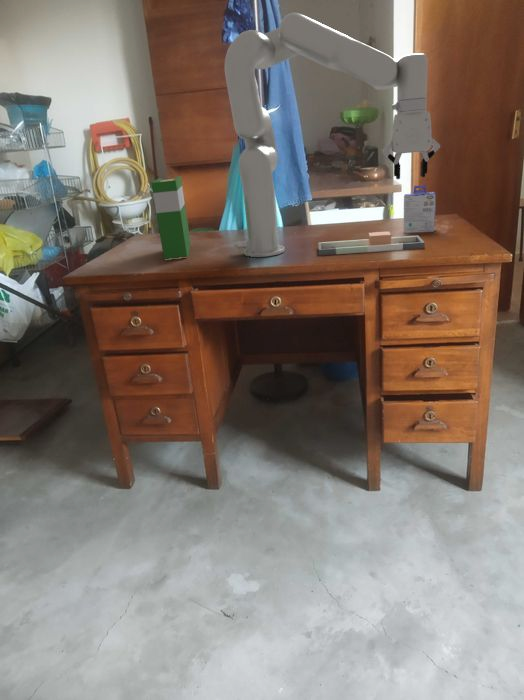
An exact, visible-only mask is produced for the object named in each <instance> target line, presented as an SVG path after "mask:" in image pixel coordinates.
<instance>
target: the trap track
mask: <svg viewBox="0 0 524 700" xmlns="http://www.w3.org/2000/svg"><path fill="white" fill-rule="evenodd" d="M425 243H426V242H425V241H424V240H423V239H422V238H421V237H420V236H419V235H407V236H396V237H395V236H394V237H392V236H391V244H386V245H372V246H369V238H367V239H366V238H365V239H364V238H363V239H351V240H337V241H325V242H324V241H323V242H318V256H327V255H328V256H330V255H342V254H343V255H344V254H345V255H346V254H358V253H359V254H360V253H372V252H373V253H374V252H390V251H403V250H416V249H419V250H421V249H425Z"/></svg>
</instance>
